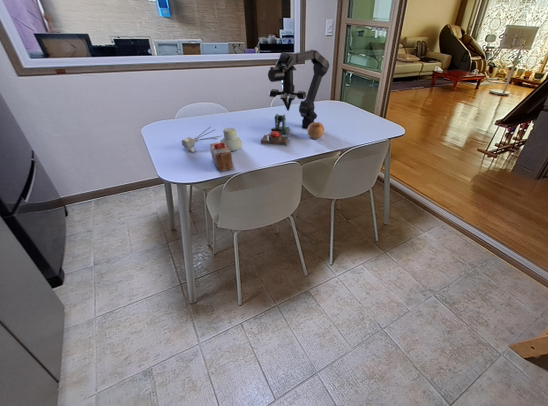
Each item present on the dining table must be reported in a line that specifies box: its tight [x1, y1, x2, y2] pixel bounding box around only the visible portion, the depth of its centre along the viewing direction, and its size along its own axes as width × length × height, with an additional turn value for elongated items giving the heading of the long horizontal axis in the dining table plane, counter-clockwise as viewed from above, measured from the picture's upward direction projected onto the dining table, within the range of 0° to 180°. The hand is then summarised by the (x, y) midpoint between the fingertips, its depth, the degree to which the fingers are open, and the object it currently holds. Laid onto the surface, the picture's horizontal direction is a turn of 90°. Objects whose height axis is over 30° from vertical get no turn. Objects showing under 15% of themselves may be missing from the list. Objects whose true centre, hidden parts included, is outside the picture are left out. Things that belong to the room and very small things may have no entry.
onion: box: [306, 121, 325, 140], centre depth 158 cm, size 10×9×10 cm
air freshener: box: [220, 127, 243, 152], centre depth 138 cm, size 11×8×10 cm
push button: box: [269, 131, 279, 137], centre depth 149 cm, size 4×4×2 cm
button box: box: [260, 133, 290, 146], centre depth 151 cm, size 13×8×4 cm, turn 86°
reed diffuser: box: [181, 126, 221, 153], centre depth 143 cm, size 10×7×20 cm
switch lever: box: [270, 114, 283, 132], centre depth 159 cm, size 12×6×2 cm, turn 176°
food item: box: [209, 141, 234, 172], centre depth 124 cm, size 14×8×10 cm, turn 31°
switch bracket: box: [273, 113, 290, 135], centre depth 163 cm, size 10×8×9 cm
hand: (288, 110), depth 157 cm, fingers closed
